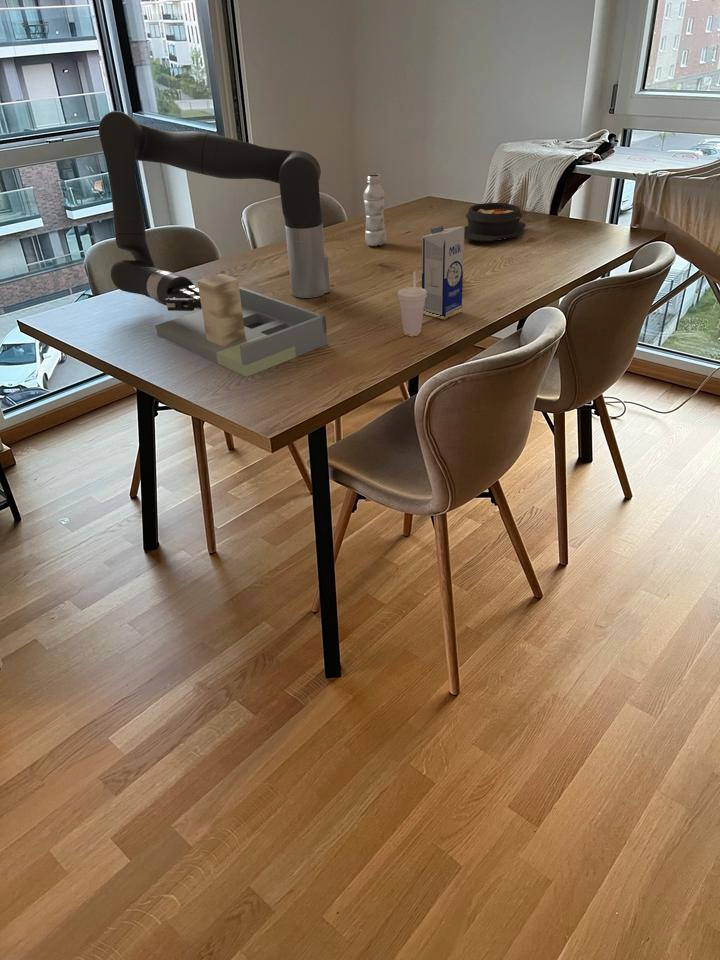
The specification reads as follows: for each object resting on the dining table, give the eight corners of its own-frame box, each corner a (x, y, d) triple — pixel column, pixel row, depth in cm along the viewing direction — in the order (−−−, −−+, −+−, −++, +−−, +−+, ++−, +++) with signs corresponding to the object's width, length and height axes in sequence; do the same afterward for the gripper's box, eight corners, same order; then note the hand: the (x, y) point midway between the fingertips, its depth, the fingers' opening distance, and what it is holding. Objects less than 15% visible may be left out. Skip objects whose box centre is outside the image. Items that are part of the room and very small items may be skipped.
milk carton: (444, 320, 174) (446, 232, 163) (421, 314, 178) (421, 227, 167) (462, 311, 179) (465, 225, 168) (439, 305, 183) (440, 221, 172)
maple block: (229, 331, 167) (221, 273, 160) (245, 338, 163) (237, 279, 156) (206, 339, 164) (197, 280, 157) (222, 346, 160) (213, 286, 153)
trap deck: (234, 309, 186) (231, 283, 183) (327, 344, 165) (325, 316, 162) (157, 335, 174) (151, 308, 170) (246, 377, 153) (242, 346, 149)
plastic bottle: (390, 243, 229) (389, 174, 219) (379, 249, 225) (377, 178, 214) (372, 241, 232) (370, 172, 222) (360, 247, 228) (357, 177, 217)
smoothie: (424, 340, 165) (425, 276, 157) (395, 338, 166) (394, 276, 159) (428, 329, 170) (428, 267, 163) (400, 328, 172) (399, 266, 164)
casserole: (498, 250, 219) (500, 221, 215) (444, 241, 229) (445, 213, 225) (539, 231, 235) (541, 202, 231) (487, 223, 245) (488, 196, 241)
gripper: (141, 280, 167) (184, 297, 156) (192, 266, 174) (236, 281, 164) (148, 313, 171) (190, 332, 160) (197, 298, 178) (241, 314, 168)
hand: (214, 306), depth 162 cm, fingers closed
